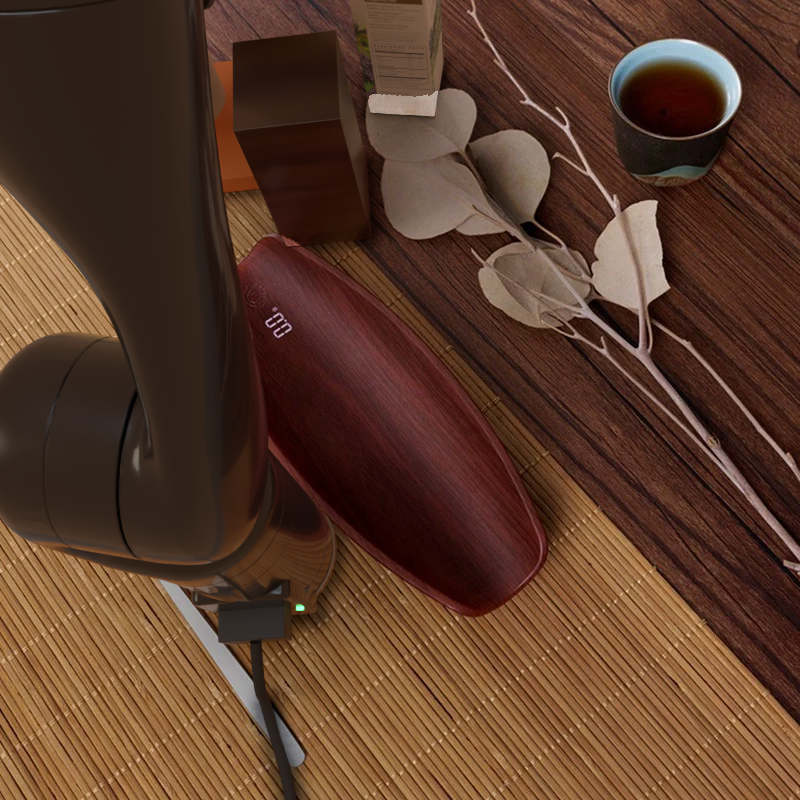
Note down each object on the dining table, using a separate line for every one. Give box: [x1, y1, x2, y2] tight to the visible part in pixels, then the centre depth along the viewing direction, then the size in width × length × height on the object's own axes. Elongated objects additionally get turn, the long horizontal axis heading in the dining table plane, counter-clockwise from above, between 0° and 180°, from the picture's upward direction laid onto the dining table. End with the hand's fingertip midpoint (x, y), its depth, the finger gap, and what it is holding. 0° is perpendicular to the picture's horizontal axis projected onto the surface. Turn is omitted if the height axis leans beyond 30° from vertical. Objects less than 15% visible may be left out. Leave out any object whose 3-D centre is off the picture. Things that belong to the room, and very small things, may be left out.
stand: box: [213, 60, 260, 194], centre depth 78 cm, size 12×12×2 cm
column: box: [232, 29, 372, 247], centre depth 68 cm, size 7×7×16 cm
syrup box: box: [348, 0, 445, 103], centre depth 71 cm, size 6×6×14 cm
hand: (132, 30), depth 67 cm, fingers closed on white bottle, 5 cm apart
